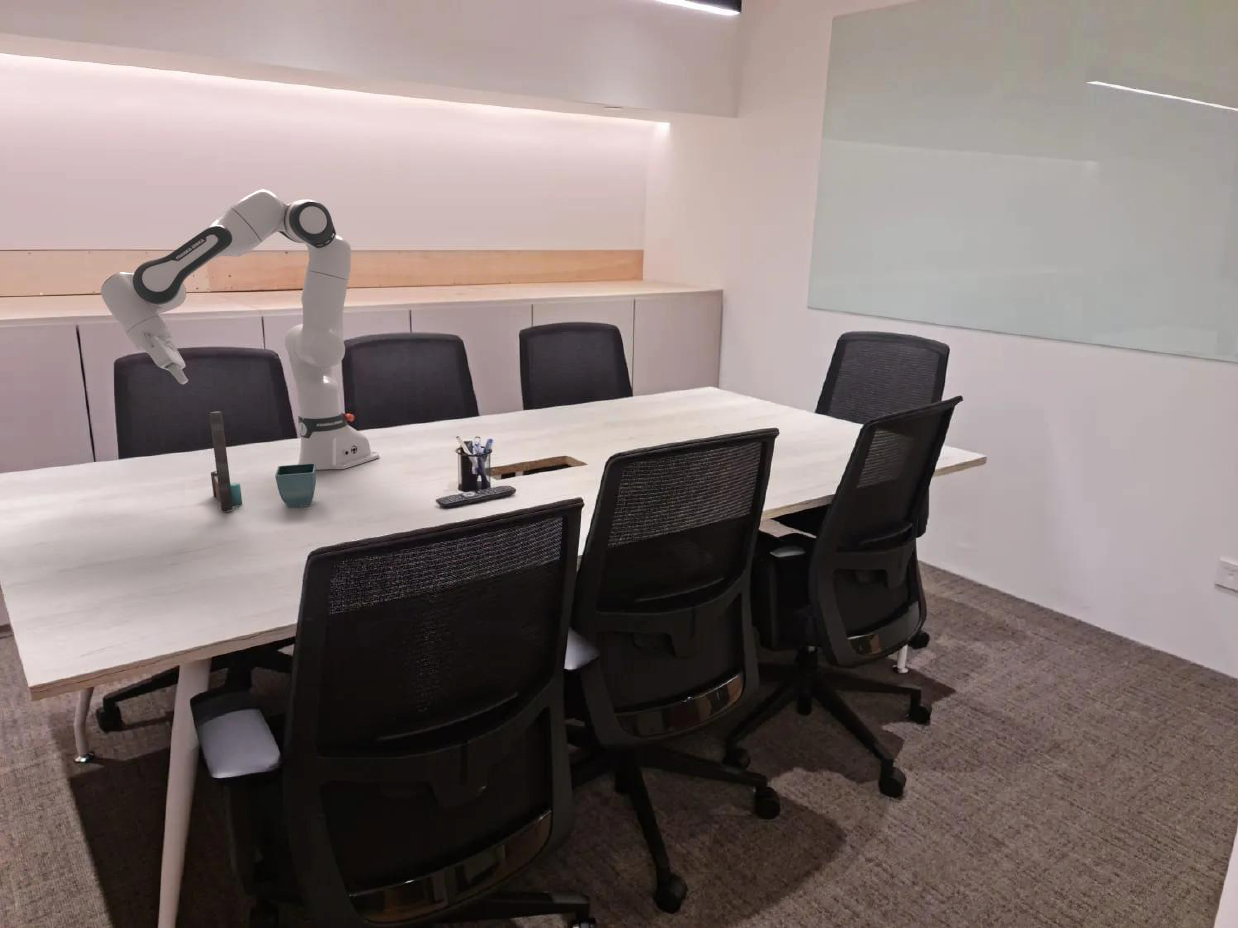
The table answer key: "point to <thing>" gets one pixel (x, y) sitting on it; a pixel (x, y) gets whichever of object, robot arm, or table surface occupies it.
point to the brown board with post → (221, 462)
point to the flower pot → (296, 484)
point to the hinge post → (213, 482)
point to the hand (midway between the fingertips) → (184, 382)
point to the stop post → (236, 494)
